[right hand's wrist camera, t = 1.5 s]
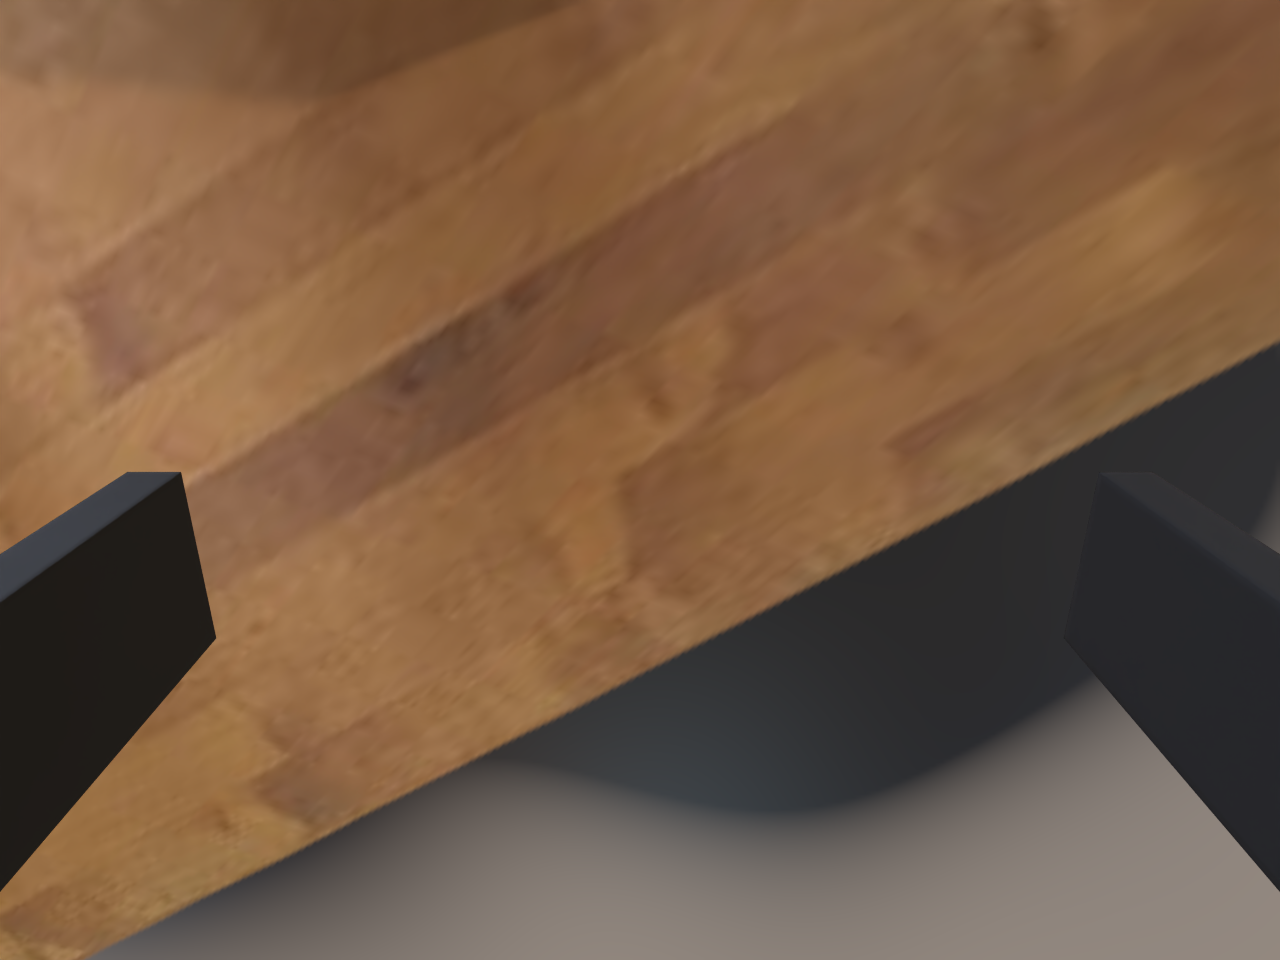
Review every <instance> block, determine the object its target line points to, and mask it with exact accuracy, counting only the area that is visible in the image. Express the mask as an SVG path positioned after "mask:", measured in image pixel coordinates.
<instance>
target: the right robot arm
mask: <svg viewBox="0 0 1280 960" xmlns="http://www.w3.org/2000/svg"><path fill="white" fill-rule="evenodd" d="M215 639H216V635H215V630H214V625H213V621H212V616H211V611H210V607H209V602H208V597H207V592H206V588H205V583H204V578H203V574H202V569H201V564H200V559H199V555H198V550H197V545H196V541H195V536H194V531H193V526H192V522H191V517H190V512H189V508H188V503H187V498H186V493H185V489H184V484H183V479H182V475H181V472H127V473H125V474H124V475H122V476H121V477H119V478H117V479H116V480H114V481H113V482H111V483H110V484H108V485H107V486H105V487H104V488H102V489H100V490H99V491H97V492H96V493H94V494H93V495H91V496H90V497H88V498H87V499H85V500H83V501H82V502H80V503H79V504H77V505H76V506H74V507H73V508H71V509H70V510H68V511H66V512H65V513H63V514H62V515H60V516H59V517H57V518H56V519H54V520H52V521H51V522H49V523H48V524H46V525H45V526H43V527H42V528H40V529H39V530H37V531H35V532H34V533H32V534H31V535H29V536H28V537H26V538H25V539H23V540H22V541H20V542H18V543H17V544H15V545H14V546H12V547H11V548H9V549H8V550H6V551H4V552H3V553H1V554H0V891H1V890H2V889H3V888H4V887H5V885H6V884H7V883H8V882H9V881H10V880H11V878H12V877H13V876H14V875H15V874H16V873H17V871H18V870H19V869H20V868H21V867H22V866H23V864H24V863H25V862H26V861H27V860H28V858H29V857H30V856H31V855H32V854H33V853H34V851H35V850H36V849H37V848H38V847H39V846H40V844H41V843H42V842H43V841H44V840H45V839H46V837H47V836H48V835H49V834H50V833H51V831H52V830H53V829H54V828H55V827H56V826H57V824H58V823H59V822H60V821H61V820H62V819H63V817H64V816H65V815H66V814H67V813H68V812H69V810H70V809H71V808H72V807H73V806H74V804H75V803H76V802H77V801H78V800H79V799H80V797H81V796H82V795H83V794H84V793H85V792H86V790H87V789H88V788H89V787H90V786H91V785H92V783H93V782H94V781H95V780H96V779H97V778H98V776H99V775H100V774H101V773H102V772H103V770H104V769H105V768H106V767H107V766H108V765H109V763H110V762H111V761H112V760H113V759H114V758H115V756H116V755H117V754H118V753H119V752H120V751H121V749H122V748H123V747H124V746H125V745H126V743H127V742H128V741H129V740H130V739H131V738H132V736H133V735H134V734H135V733H136V732H137V731H138V729H139V728H140V727H141V726H142V725H143V724H144V722H145V721H146V720H147V719H148V718H149V716H150V715H151V714H152V713H153V712H154V711H155V709H156V708H157V707H158V706H159V705H160V704H161V702H162V701H163V700H164V699H165V698H166V697H167V695H168V694H169V693H170V692H171V691H172V689H173V688H174V687H175V686H176V685H177V684H178V682H179V681H180V680H181V679H182V678H183V677H184V675H185V674H186V673H187V672H188V671H189V670H190V668H191V667H192V666H193V665H194V664H195V663H196V661H197V660H198V659H199V658H200V657H201V655H202V654H203V653H204V652H205V651H206V650H207V648H208V647H209V646H210V645H211V644H212V643H213V641H214V640H215ZM1064 639H1065V640H1066V641H1067V643H1068V644H1069V645H1070V646H1071V647H1072V648H1073V650H1074V651H1075V652H1076V653H1077V654H1078V655H1079V657H1080V658H1081V659H1082V660H1083V661H1084V662H1085V664H1086V665H1087V666H1088V667H1089V668H1090V670H1091V671H1092V672H1093V673H1094V674H1095V675H1096V677H1097V678H1098V679H1099V680H1100V681H1101V682H1102V684H1103V685H1104V686H1105V687H1106V688H1107V689H1108V691H1109V692H1110V693H1111V694H1112V695H1113V697H1114V698H1115V699H1116V700H1117V701H1118V702H1119V704H1120V705H1121V706H1122V707H1123V708H1124V709H1125V711H1126V712H1127V713H1128V714H1129V715H1130V716H1131V718H1132V719H1133V720H1134V721H1135V722H1136V724H1137V725H1138V726H1139V727H1140V728H1141V729H1142V731H1143V732H1144V733H1145V734H1146V735H1147V736H1148V738H1149V739H1150V740H1151V741H1152V742H1153V743H1154V745H1155V746H1156V747H1157V748H1158V749H1159V750H1160V752H1161V753H1162V754H1163V755H1164V756H1165V758H1166V759H1167V760H1168V761H1169V762H1170V763H1171V765H1172V766H1173V767H1174V768H1175V769H1176V770H1177V772H1178V773H1179V774H1180V775H1181V776H1182V777H1183V779H1184V780H1185V781H1186V782H1187V783H1188V785H1189V786H1190V787H1191V788H1192V789H1193V790H1194V792H1195V793H1196V794H1197V795H1198V796H1199V797H1200V799H1201V800H1202V801H1203V802H1204V803H1205V804H1206V806H1207V807H1208V808H1209V809H1210V810H1211V812H1212V813H1213V814H1214V815H1215V816H1216V817H1217V819H1218V820H1219V821H1220V822H1221V823H1222V824H1223V826H1224V827H1225V828H1226V829H1227V830H1228V831H1229V833H1230V834H1231V835H1232V836H1233V837H1234V839H1235V840H1236V841H1237V842H1238V843H1239V844H1240V846H1241V847H1242V848H1243V849H1244V850H1245V851H1246V853H1247V854H1248V855H1249V856H1250V857H1251V858H1252V860H1253V861H1254V862H1255V863H1256V864H1257V866H1258V867H1259V868H1260V869H1261V870H1262V871H1263V873H1264V874H1265V875H1266V876H1267V877H1268V878H1269V879H1270V881H1271V882H1272V883H1273V884H1274V885H1275V887H1276V888H1277V889H1278V890H1279V891H1280V554H1279V553H1277V552H1275V551H1274V550H1272V549H1271V548H1269V547H1268V546H1266V545H1265V544H1263V543H1262V542H1260V541H1258V540H1257V539H1255V538H1254V537H1252V536H1251V535H1249V534H1248V533H1246V532H1245V531H1243V530H1241V529H1240V528H1238V527H1237V526H1235V525H1234V524H1232V523H1231V522H1229V521H1227V520H1226V519H1224V518H1223V517H1221V516H1220V515H1218V514H1217V513H1215V512H1214V511H1212V510H1210V509H1209V508H1207V507H1206V506H1204V505H1203V504H1201V503H1200V502H1198V501H1197V500H1195V499H1193V498H1192V497H1190V496H1189V495H1187V494H1186V493H1184V492H1183V491H1181V490H1180V489H1178V488H1176V487H1175V486H1173V485H1172V484H1170V483H1169V482H1167V481H1166V480H1164V479H1162V478H1161V477H1159V476H1158V475H1156V474H1155V473H1153V472H1099V475H1098V479H1097V484H1096V489H1095V493H1094V498H1093V503H1092V508H1091V512H1090V517H1089V522H1088V527H1087V532H1086V536H1085V541H1084V545H1083V550H1082V555H1081V559H1080V564H1079V569H1078V574H1077V578H1076V583H1075V588H1074V593H1073V597H1072V602H1071V607H1070V612H1069V616H1068V621H1067V626H1066V630H1065V635H1064Z"/></svg>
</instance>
